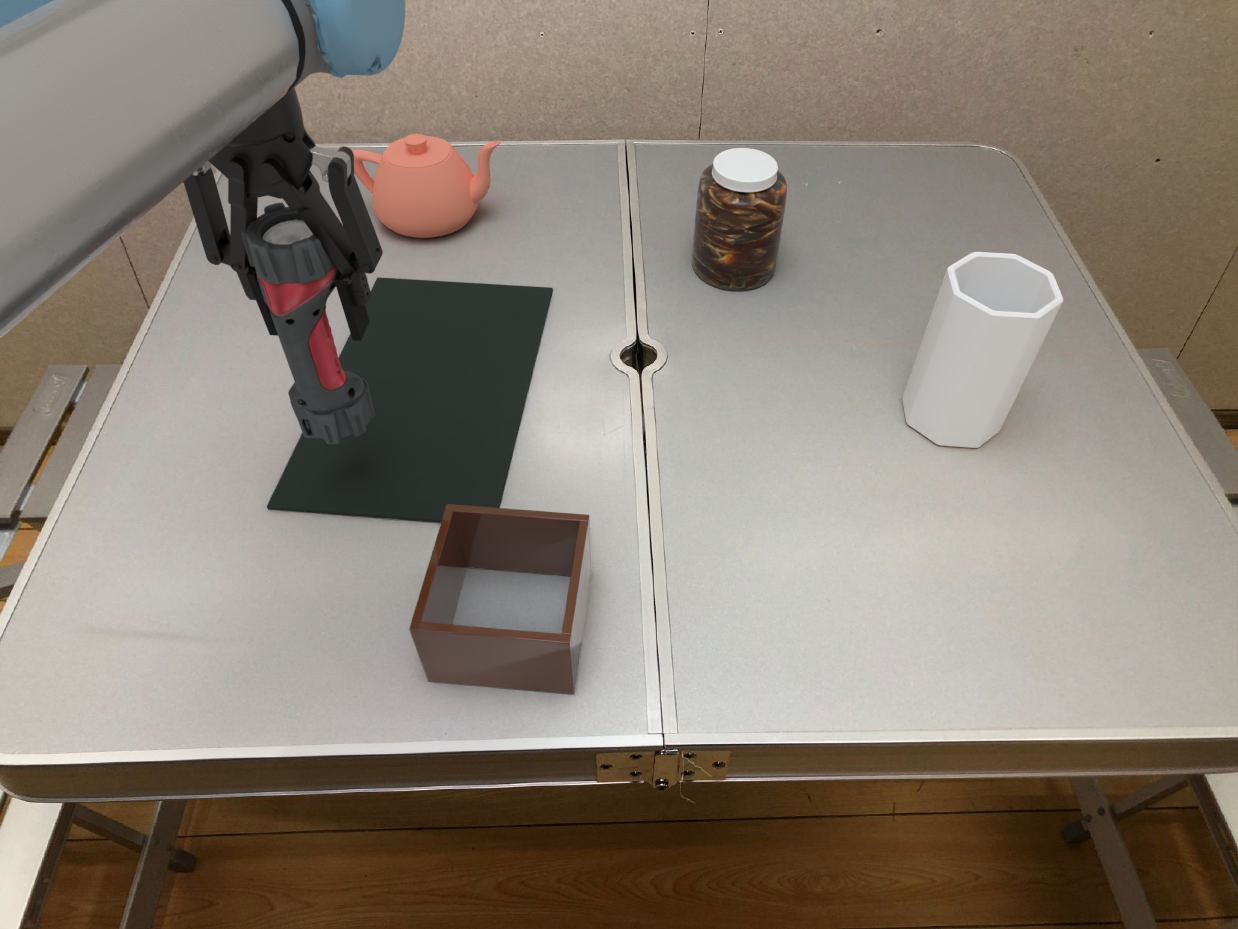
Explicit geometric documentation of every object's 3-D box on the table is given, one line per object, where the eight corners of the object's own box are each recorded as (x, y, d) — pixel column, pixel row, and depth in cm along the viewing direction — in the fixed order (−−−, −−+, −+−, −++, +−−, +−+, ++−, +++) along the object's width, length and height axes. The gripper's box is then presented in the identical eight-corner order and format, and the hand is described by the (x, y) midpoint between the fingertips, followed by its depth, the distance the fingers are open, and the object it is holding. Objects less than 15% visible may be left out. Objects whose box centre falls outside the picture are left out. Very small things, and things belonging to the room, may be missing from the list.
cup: (914, 370, 101) (961, 238, 88) (1009, 401, 98) (1073, 268, 84) (888, 429, 95) (934, 295, 81) (988, 463, 91) (1054, 331, 77)
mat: (267, 509, 87) (266, 506, 87) (378, 280, 114) (377, 277, 113) (494, 527, 86) (494, 524, 85) (553, 290, 112) (552, 287, 112)
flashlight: (405, 406, 86) (351, 207, 69) (362, 458, 81) (293, 257, 64) (341, 387, 88) (274, 188, 71) (296, 437, 83) (212, 236, 66)
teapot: (515, 192, 129) (507, 113, 119) (502, 248, 119) (492, 167, 109) (374, 188, 129) (355, 110, 120) (348, 244, 119) (326, 163, 110)
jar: (792, 264, 116) (811, 163, 105) (740, 302, 110) (754, 199, 99) (726, 231, 121) (737, 132, 110) (673, 266, 116) (679, 164, 104)
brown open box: (427, 682, 74) (408, 629, 67) (460, 560, 83) (446, 503, 76) (574, 695, 73) (569, 643, 67) (592, 571, 82) (589, 514, 75)
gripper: (385, 53, 60) (437, 309, 78) (123, 43, 62) (231, 296, 79) (354, 101, 56) (417, 362, 73) (69, 88, 57) (196, 348, 74)
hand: (320, 328), depth 76 cm, fingers closed on flashlight, 7 cm apart
